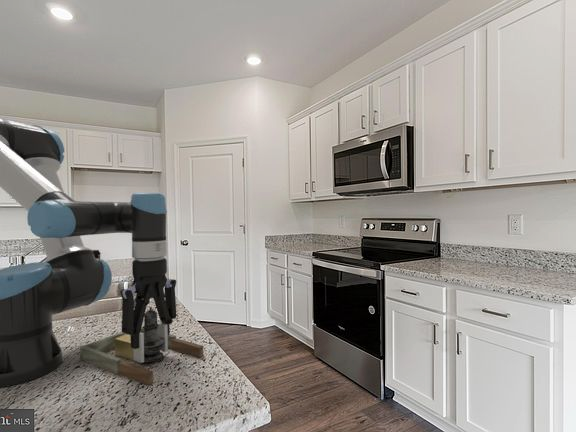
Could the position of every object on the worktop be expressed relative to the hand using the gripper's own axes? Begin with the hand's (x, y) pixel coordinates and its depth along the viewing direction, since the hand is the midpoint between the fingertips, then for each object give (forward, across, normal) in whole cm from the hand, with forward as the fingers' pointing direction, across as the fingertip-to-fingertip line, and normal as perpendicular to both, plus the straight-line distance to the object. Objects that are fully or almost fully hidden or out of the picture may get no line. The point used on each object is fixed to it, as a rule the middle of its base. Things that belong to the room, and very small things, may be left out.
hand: (151, 355), depth 77 cm
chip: (+1, 0, +9) cm, 9 cm away
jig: (+1, 0, +3) cm, 4 cm away
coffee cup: (+2, +56, +129) cm, 141 cm away
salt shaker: (+1, 0, 0) cm, 1 cm away
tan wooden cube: (+1, 0, +5) cm, 5 cm away
